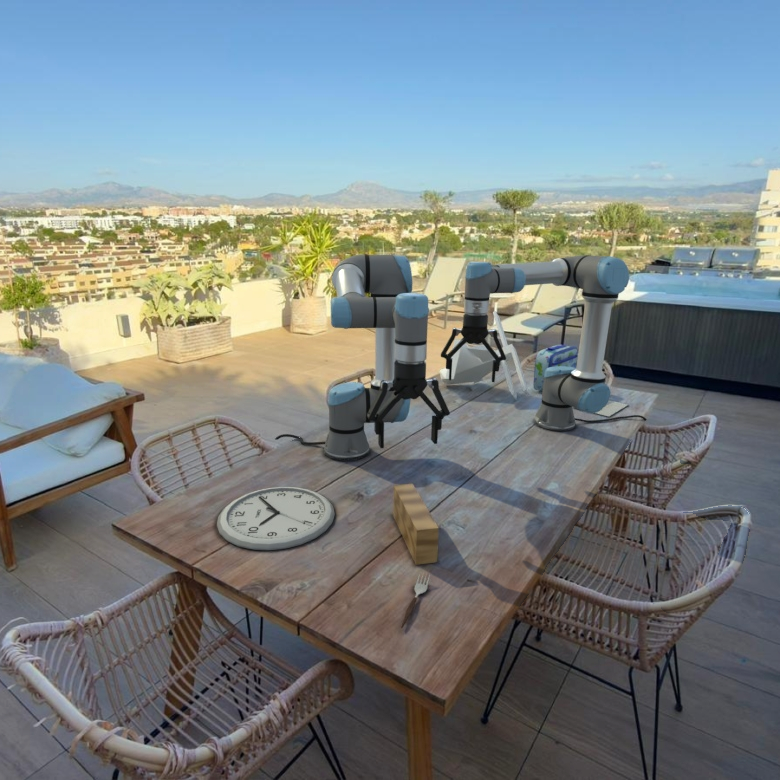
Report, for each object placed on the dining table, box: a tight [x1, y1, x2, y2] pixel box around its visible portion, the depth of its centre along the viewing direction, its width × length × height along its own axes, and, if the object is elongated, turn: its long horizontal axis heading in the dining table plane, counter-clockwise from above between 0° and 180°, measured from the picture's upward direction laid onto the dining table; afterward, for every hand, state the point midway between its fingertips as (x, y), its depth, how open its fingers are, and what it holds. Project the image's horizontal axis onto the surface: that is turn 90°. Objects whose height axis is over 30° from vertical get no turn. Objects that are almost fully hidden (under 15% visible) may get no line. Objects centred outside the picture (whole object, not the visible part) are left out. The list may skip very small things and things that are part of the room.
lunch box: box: [533, 344, 579, 392], centre depth 247 cm, size 26×11×21 cm, turn 134°
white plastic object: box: [438, 310, 531, 400], centre depth 245 cm, size 37×45×31 cm
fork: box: [400, 570, 431, 629], centre depth 106 cm, size 3×16×2 cm, turn 160°
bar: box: [392, 483, 440, 566], centre depth 127 cm, size 22×5×9 cm, turn 13°
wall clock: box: [216, 486, 336, 551], centre depth 136 cm, size 30×2×30 cm
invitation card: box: [595, 399, 629, 418], centre depth 226 cm, size 21×1×15 cm
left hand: (407, 444), depth 129 cm, fingers open, 13 cm apart
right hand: (471, 380), depth 167 cm, fingers open, 13 cm apart
